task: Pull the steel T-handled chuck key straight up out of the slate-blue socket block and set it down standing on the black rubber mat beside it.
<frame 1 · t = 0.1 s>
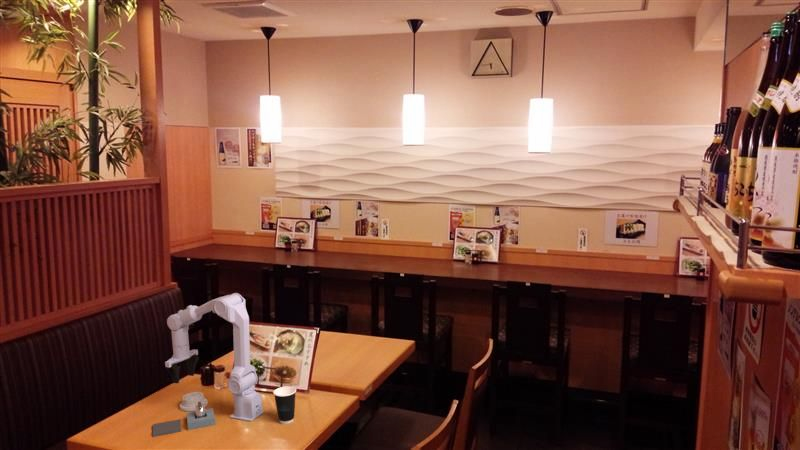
hand: (183, 379, 223), 10 cm above the table, tool pointing down, fingers open, 7 cm apart
key mat: (166, 428, 205), on the table
dixie cup: (286, 421, 208), on the table
socket block: (201, 422, 209), on the table
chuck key: (200, 413, 209), in the socket block
mechanical component: (193, 406, 223), on the table
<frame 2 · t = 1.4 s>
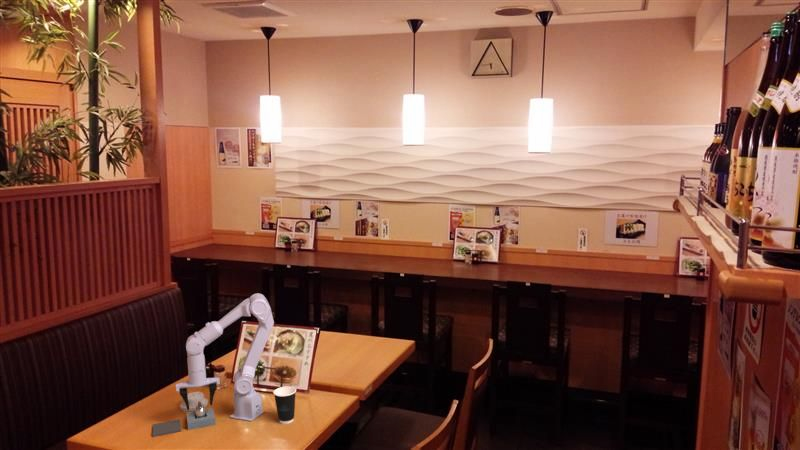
hand: (199, 406, 208), 6 cm above the table, tool pointing down, fingers open, 7 cm apart
nothing on the table moved.
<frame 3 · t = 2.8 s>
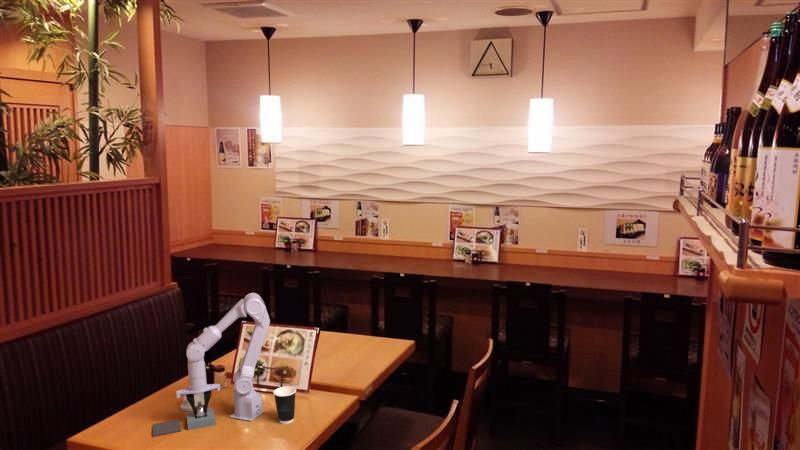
hand: (200, 412, 209), 3 cm above the table, tool pointing down, fingers closed on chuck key, 3 cm apart
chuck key: (200, 413, 209), in the socket block, touching gripper
everything else where it was.
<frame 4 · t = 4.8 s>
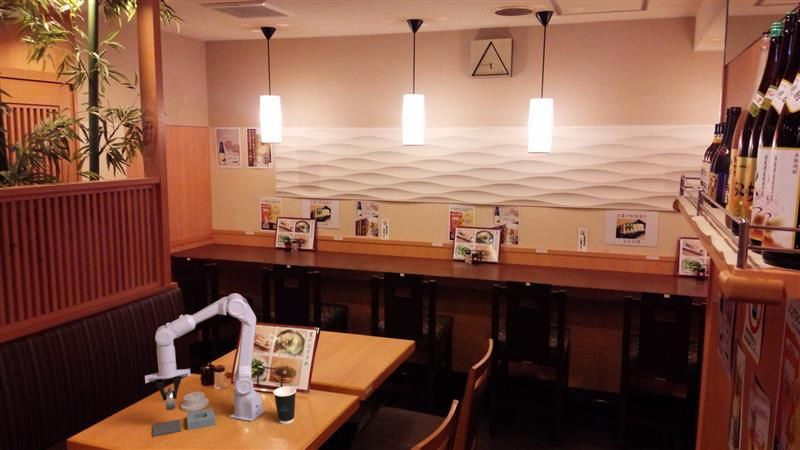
hand: (169, 398, 204), 11 cm above the table, tool pointing down, fingers closed on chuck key, 3 cm apart
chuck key: (169, 398, 204), point 10 cm above the table, touching gripper
everything else where it was.
when the fingers open (5 cm above the table, at t = 6.7 s): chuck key stays where it is, resting on key mat.
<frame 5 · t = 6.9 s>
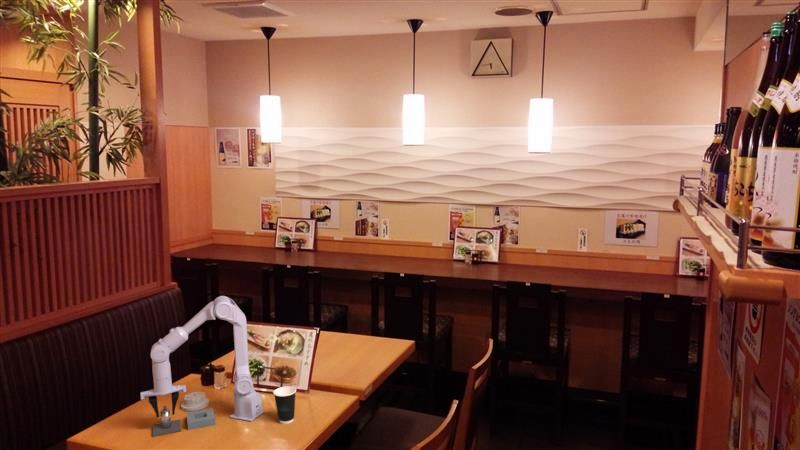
hand: (165, 414, 204), 5 cm above the table, tool pointing down, fingers open, 4 cm apart
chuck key: (165, 417, 204), on the key mat, point 4 cm above the table
everything else where it was.
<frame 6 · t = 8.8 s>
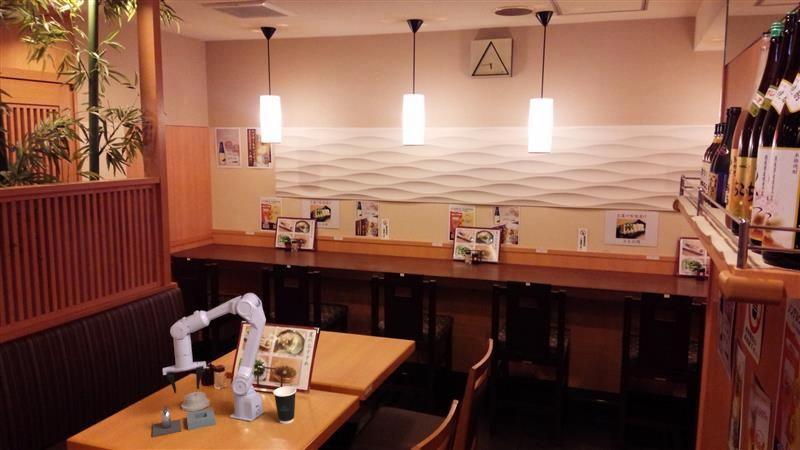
hand: (186, 390, 212), 10 cm above the table, tool pointing down, fingers open, 7 cm apart
nothing on the table moved.
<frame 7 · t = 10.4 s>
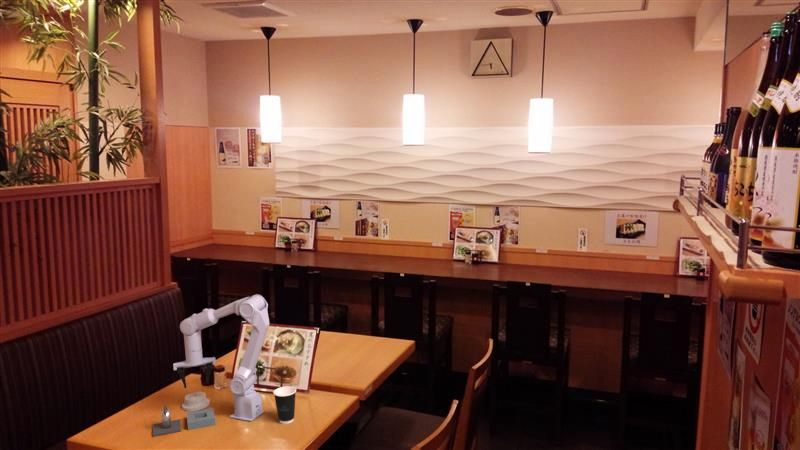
hand: (196, 385, 216), 10 cm above the table, tool pointing down, fingers open, 7 cm apart
nothing on the table moved.
at the end: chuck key inside the target area on the key mat (0.0 cm from its centre), point 4.0 cm above the key mat's base; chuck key touching key mat; the gripper is holding nothing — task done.
